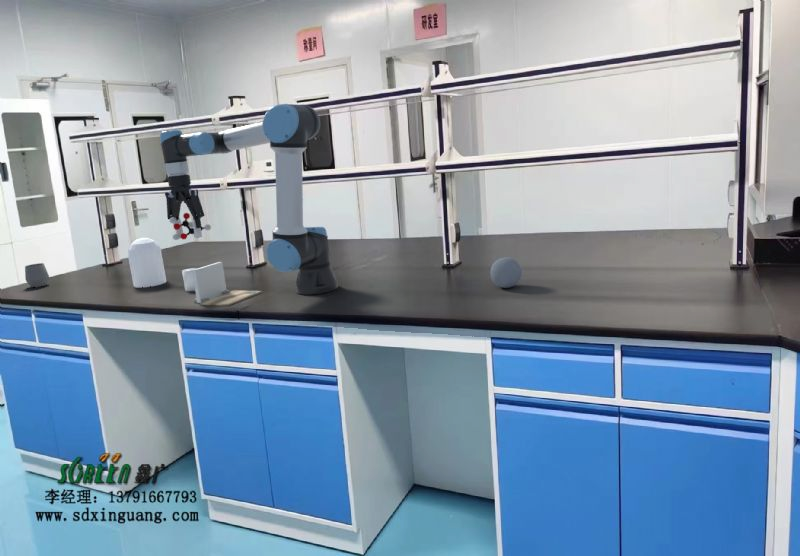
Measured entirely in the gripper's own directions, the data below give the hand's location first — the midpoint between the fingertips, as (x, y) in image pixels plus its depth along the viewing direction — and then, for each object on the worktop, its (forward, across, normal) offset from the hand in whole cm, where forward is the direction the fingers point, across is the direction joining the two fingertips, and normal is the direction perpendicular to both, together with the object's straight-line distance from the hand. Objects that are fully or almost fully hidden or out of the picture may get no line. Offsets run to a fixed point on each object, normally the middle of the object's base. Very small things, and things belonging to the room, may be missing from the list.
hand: (189, 237), depth 224 cm
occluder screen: (+23, -6, 0) cm, 23 cm away
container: (+22, +45, -18) cm, 53 cm away
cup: (+21, +106, -9) cm, 108 cm away
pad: (+23, -15, 0) cm, 27 cm away
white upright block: (+22, +14, -11) cm, 29 cm away
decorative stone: (+25, -110, -24) cm, 115 cm away
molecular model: (+1, 0, -1) cm, 1 cm away
